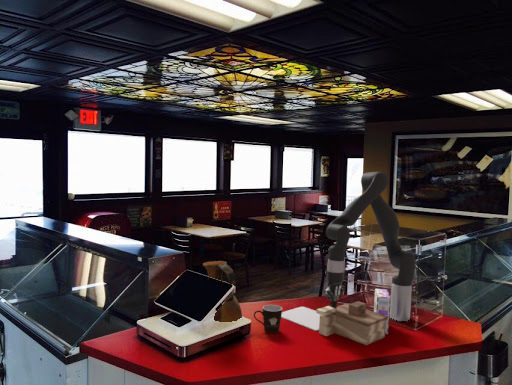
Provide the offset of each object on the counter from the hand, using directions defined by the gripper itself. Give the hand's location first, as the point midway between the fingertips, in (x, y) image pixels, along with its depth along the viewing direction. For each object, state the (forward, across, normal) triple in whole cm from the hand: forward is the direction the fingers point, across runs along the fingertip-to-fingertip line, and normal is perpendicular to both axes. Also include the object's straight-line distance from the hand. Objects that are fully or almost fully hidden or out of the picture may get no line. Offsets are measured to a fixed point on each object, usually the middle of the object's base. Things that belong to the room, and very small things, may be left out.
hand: (333, 308), depth 190 cm
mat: (+10, -4, -17) cm, 20 cm away
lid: (+2, -6, +8) cm, 10 cm away
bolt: (0, +5, 0) cm, 5 cm away
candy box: (+10, -21, +11) cm, 26 cm away
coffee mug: (+10, +22, -18) cm, 30 cm away
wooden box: (+10, -3, +8) cm, 13 cm away
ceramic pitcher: (+10, +40, -30) cm, 51 cm away
